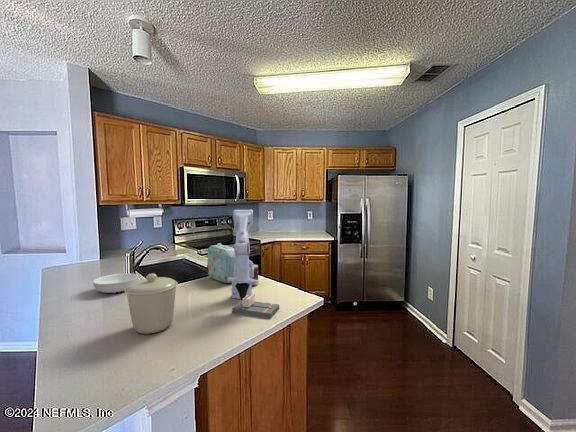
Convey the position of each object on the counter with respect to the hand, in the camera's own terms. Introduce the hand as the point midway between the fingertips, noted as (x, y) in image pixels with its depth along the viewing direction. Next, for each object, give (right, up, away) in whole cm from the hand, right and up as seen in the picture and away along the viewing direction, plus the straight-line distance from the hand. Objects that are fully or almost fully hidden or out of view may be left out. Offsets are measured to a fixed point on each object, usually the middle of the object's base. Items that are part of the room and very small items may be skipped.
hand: (243, 299), depth 121 cm
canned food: (-1, -2, +34) cm, 34 cm away
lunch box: (-20, -2, +45) cm, 50 cm away
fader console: (+6, -5, -2) cm, 8 cm away
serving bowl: (-73, -4, +27) cm, 78 cm away
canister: (-32, -6, -16) cm, 36 cm away
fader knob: (+2, -2, -1) cm, 3 cm away
